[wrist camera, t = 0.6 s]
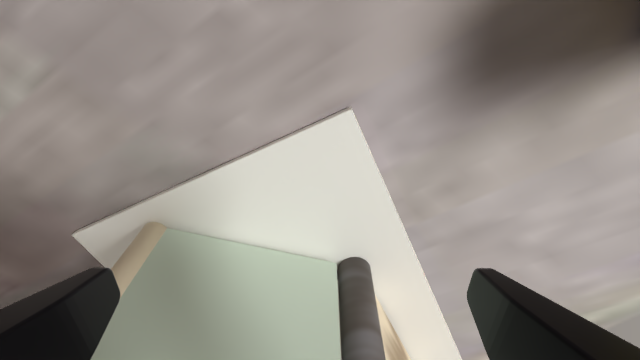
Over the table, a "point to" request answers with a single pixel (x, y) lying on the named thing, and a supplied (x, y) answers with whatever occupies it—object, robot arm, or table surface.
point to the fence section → (364, 316)
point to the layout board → (300, 220)
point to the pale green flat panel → (219, 302)
